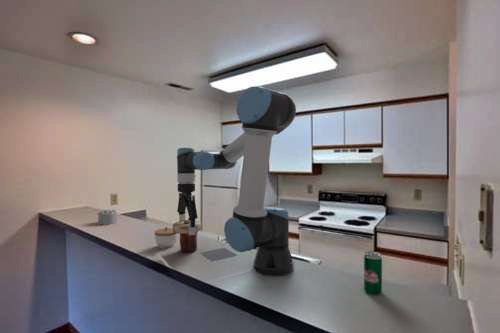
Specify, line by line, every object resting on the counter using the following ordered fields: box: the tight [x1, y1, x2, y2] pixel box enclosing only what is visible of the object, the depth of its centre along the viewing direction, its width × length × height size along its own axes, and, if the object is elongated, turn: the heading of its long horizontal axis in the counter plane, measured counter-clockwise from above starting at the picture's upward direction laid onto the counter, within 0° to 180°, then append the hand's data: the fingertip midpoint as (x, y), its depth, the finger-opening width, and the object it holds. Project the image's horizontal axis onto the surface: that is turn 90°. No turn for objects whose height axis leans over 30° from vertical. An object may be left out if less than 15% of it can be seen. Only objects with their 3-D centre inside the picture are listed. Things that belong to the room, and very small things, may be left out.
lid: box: [172, 219, 202, 235], centre depth 119 cm, size 12×12×4 cm
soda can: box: [363, 250, 383, 296], centre depth 83 cm, size 5×5×12 cm
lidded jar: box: [154, 226, 179, 249], centre depth 129 cm, size 11×11×9 cm
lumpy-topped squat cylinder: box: [97, 209, 118, 226], centre depth 180 cm, size 10×13×9 cm
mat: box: [200, 247, 238, 262], centre depth 115 cm, size 12×12×1 cm
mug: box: [179, 231, 199, 254], centre depth 119 cm, size 12×9×10 cm
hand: (187, 231), depth 119 cm, fingers closed on lid, 12 cm apart
